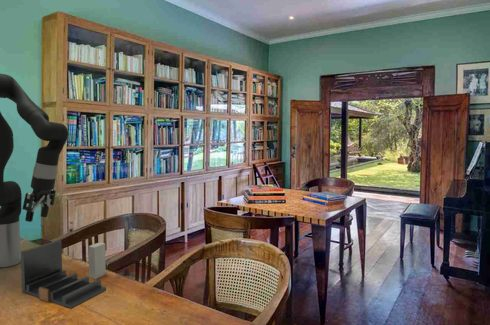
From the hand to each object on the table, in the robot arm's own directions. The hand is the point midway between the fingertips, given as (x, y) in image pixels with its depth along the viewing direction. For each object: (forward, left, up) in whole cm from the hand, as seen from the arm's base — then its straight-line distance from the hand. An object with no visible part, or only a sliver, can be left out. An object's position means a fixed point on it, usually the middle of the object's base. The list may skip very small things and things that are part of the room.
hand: (36, 219), depth 129 cm
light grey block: (+19, +10, -22) cm, 31 cm away
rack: (+19, -4, -22) cm, 29 cm away
